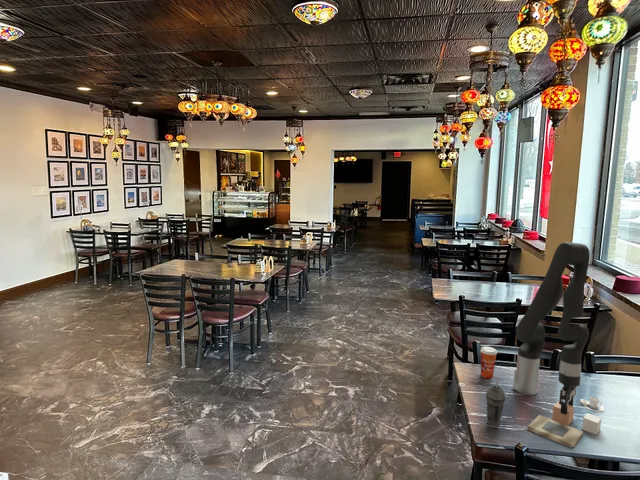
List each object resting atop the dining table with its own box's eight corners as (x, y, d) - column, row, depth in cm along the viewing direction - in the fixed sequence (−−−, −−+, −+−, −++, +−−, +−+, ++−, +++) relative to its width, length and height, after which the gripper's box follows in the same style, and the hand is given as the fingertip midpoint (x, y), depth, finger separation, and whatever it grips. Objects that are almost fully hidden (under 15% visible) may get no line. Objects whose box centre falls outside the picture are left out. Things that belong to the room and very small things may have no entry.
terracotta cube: (552, 419, 176) (553, 406, 175) (557, 414, 180) (558, 401, 179) (568, 426, 171) (569, 412, 170) (572, 420, 175) (574, 406, 174)
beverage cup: (502, 420, 174) (506, 374, 171) (503, 430, 167) (508, 382, 164) (483, 416, 176) (487, 371, 173) (483, 426, 170) (487, 378, 167)
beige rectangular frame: (527, 429, 168) (528, 425, 168) (539, 418, 176) (539, 414, 176) (572, 448, 157) (573, 444, 156) (582, 435, 165) (583, 431, 165)
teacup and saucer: (576, 403, 189) (577, 395, 188) (588, 400, 192) (589, 392, 192) (596, 414, 181) (597, 405, 181) (608, 410, 184) (609, 401, 184)
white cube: (581, 429, 169) (583, 417, 168) (585, 424, 172) (587, 413, 172) (596, 435, 166) (598, 423, 165) (600, 430, 169) (601, 418, 168)
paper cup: (480, 378, 210) (482, 351, 208) (477, 371, 218) (479, 345, 216) (497, 380, 209) (499, 352, 207) (493, 373, 217) (495, 346, 215)
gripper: (564, 364, 180) (561, 400, 182) (554, 374, 170) (551, 412, 172) (585, 369, 175) (581, 406, 177) (575, 380, 165) (572, 420, 167)
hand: (566, 409), depth 174 cm, fingers open, 8 cm apart
